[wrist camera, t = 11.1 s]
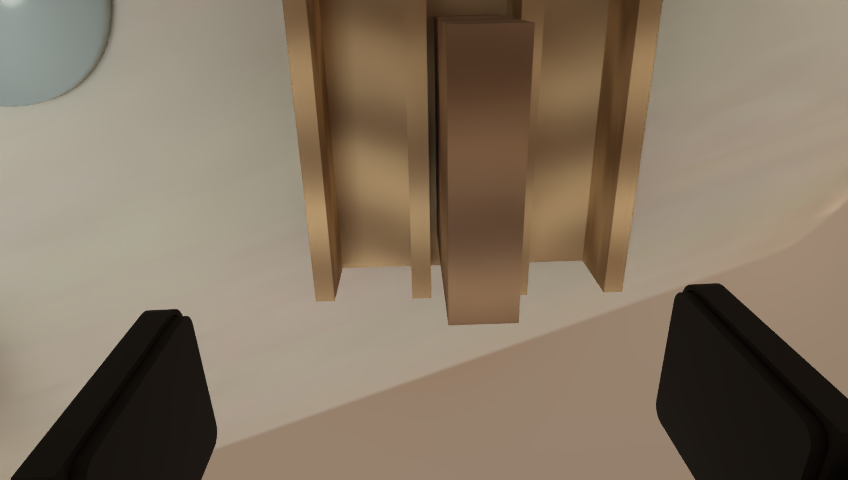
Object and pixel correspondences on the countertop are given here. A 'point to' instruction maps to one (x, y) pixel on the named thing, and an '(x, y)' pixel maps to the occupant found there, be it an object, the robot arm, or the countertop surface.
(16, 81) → the pale blue rounded part
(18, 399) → the countertop surface
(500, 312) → the board
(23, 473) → the robot arm
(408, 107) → the rack
